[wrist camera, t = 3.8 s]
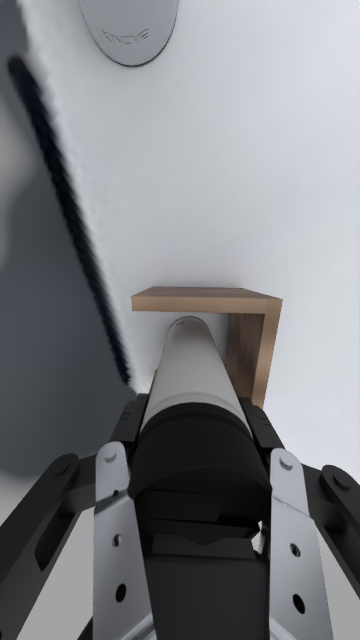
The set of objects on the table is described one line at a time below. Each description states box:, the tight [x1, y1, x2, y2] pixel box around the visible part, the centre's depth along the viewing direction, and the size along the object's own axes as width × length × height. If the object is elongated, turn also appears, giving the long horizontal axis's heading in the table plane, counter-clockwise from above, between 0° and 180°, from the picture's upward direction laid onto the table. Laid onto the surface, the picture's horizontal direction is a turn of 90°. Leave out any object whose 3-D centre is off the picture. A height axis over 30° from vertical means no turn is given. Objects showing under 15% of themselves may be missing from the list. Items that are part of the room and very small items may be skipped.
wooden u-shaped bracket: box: [131, 287, 283, 410], centre depth 20 cm, size 14×12×10 cm
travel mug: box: [112, 316, 273, 549], centre depth 15 cm, size 6×7×20 cm
